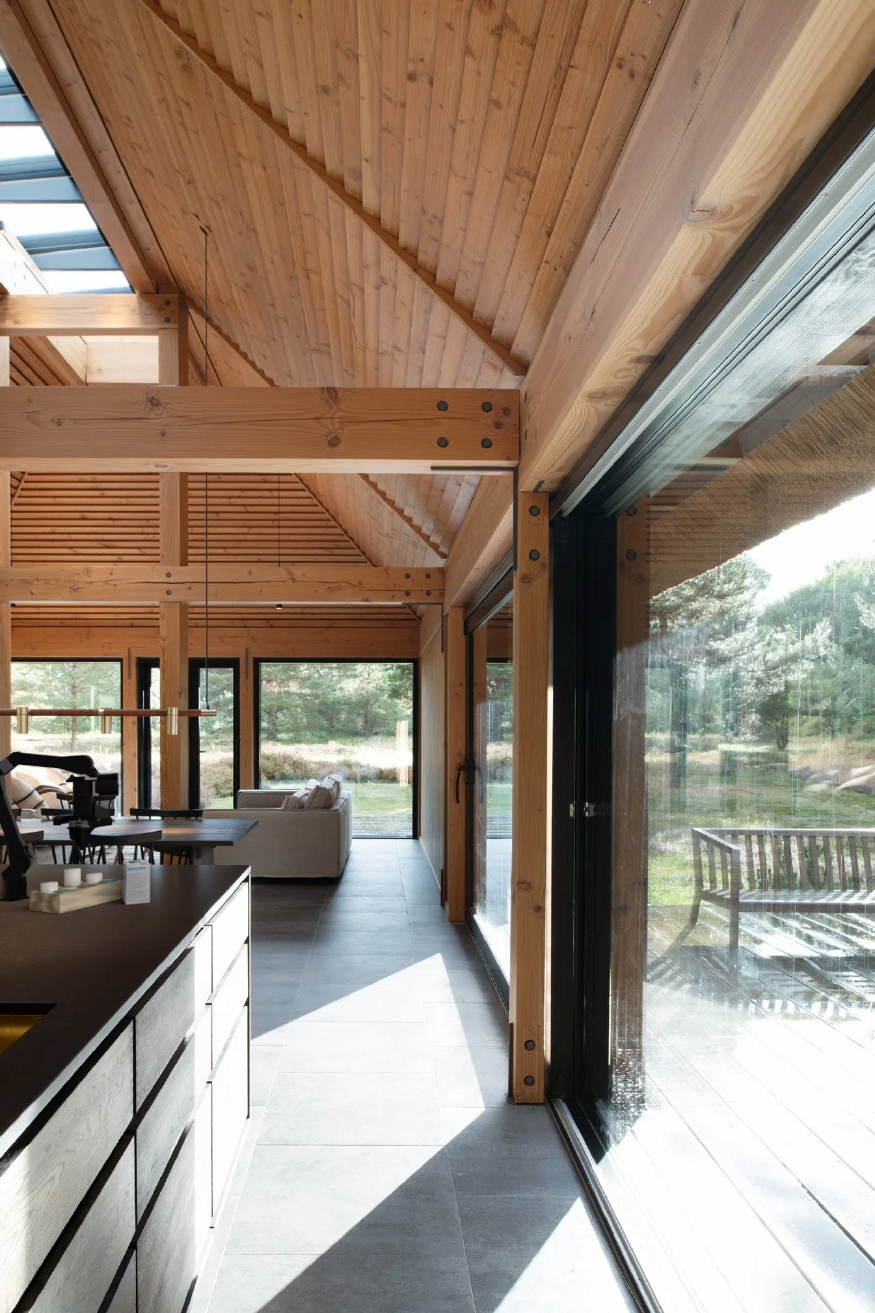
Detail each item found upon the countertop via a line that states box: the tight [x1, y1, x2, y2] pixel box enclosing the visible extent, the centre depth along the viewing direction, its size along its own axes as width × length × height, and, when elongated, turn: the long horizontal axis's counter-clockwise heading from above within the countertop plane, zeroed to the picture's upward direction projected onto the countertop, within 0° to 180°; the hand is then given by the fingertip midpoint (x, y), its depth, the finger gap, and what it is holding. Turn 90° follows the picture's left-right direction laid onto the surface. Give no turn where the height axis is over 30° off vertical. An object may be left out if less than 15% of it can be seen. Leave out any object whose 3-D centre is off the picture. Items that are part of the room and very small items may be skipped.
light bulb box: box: [122, 859, 151, 906], centre depth 263 cm, size 11×7×11 cm, turn 25°
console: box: [28, 878, 123, 914], centre depth 259 cm, size 12×23×5 cm, turn 154°
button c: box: [85, 872, 103, 883], centre depth 268 cm, size 4×4×7 cm
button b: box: [63, 867, 82, 888], centre depth 261 cm, size 4×4×7 cm
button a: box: [40, 881, 59, 893], centre depth 253 cm, size 4×4×7 cm
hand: (82, 850), depth 274 cm, fingers closed
